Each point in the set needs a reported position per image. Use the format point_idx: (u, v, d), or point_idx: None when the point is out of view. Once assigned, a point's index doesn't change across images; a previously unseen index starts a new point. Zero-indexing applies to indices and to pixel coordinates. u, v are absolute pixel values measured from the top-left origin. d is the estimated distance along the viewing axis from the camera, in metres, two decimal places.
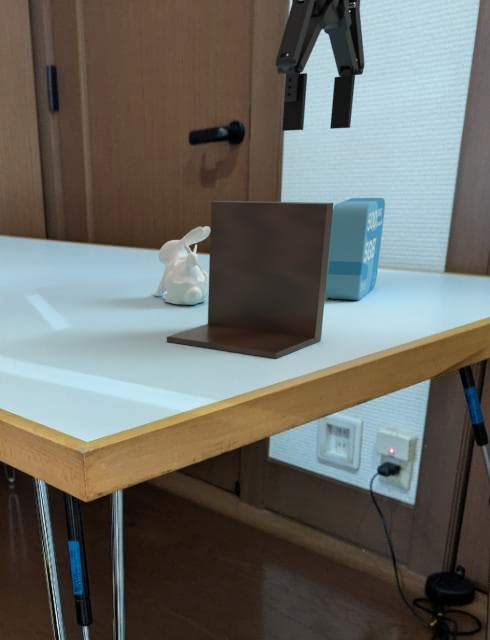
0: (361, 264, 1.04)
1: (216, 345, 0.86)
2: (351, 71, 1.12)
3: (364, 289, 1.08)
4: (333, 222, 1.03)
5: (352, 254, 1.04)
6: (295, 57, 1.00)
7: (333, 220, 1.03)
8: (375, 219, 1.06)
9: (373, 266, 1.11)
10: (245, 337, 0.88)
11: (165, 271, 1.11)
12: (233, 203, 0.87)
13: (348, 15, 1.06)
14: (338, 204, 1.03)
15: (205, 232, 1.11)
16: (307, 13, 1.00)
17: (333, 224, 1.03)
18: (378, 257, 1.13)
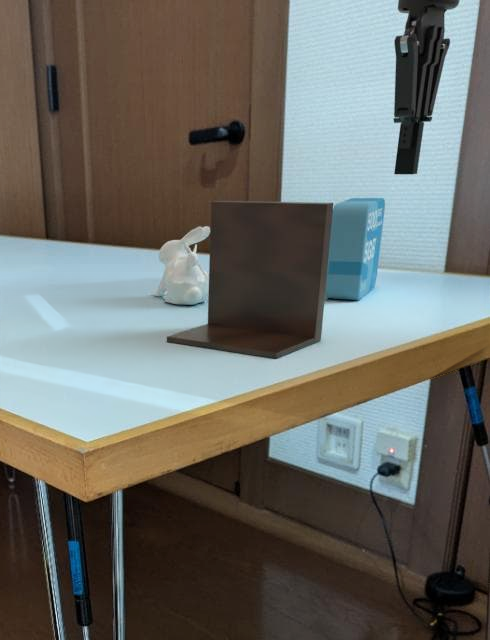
0: (361, 264, 1.04)
1: (216, 345, 0.86)
2: (420, 118, 1.11)
3: (364, 289, 1.08)
4: (333, 222, 1.03)
5: (352, 254, 1.04)
6: (413, 110, 1.08)
7: (333, 220, 1.03)
8: (375, 219, 1.06)
9: (373, 266, 1.11)
10: (245, 337, 0.88)
11: (165, 271, 1.11)
12: (233, 203, 0.87)
13: (438, 50, 1.07)
14: (338, 204, 1.03)
15: (205, 232, 1.11)
16: (414, 66, 1.05)
17: (333, 224, 1.03)
18: (378, 257, 1.13)
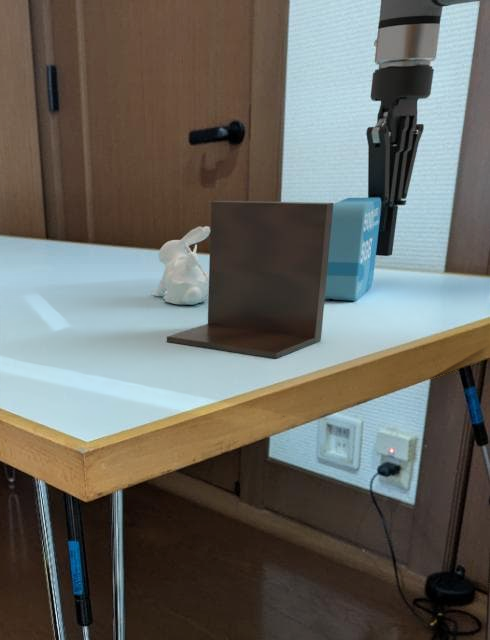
0: (357, 265, 1.03)
1: (216, 345, 0.86)
2: (394, 202, 1.12)
3: (361, 290, 1.08)
4: None
5: (349, 255, 1.03)
6: (386, 196, 1.09)
7: None
8: (371, 219, 1.05)
9: (370, 266, 1.10)
10: (245, 337, 0.88)
11: (165, 271, 1.11)
12: (233, 203, 0.87)
13: (411, 138, 1.09)
14: (334, 205, 1.03)
15: (205, 232, 1.11)
16: (386, 155, 1.06)
17: None
18: None
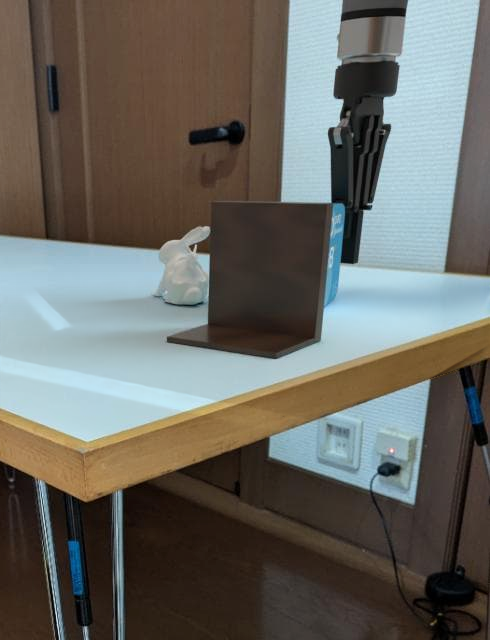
0: None
1: (216, 345, 0.86)
2: (359, 206, 1.06)
3: None
4: None
5: None
6: (350, 201, 1.02)
7: None
8: (332, 227, 0.99)
9: (332, 276, 1.04)
10: (245, 337, 0.88)
11: (165, 271, 1.11)
12: (233, 203, 0.87)
13: (377, 139, 1.02)
14: None
15: (205, 232, 1.11)
16: (349, 158, 0.99)
17: None
18: (339, 266, 1.06)
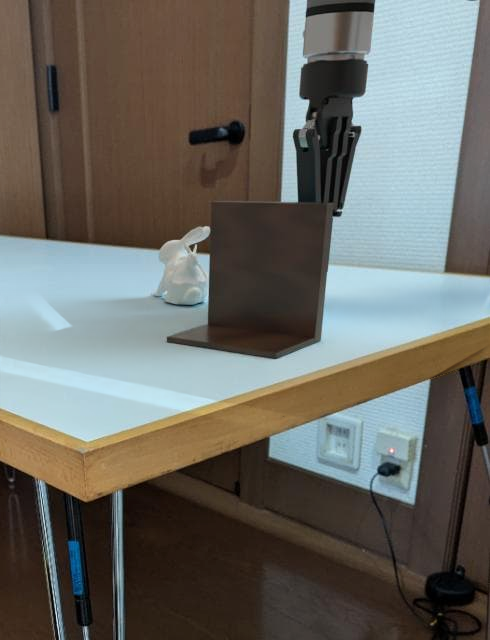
0: None
1: (216, 345, 0.86)
2: None
3: None
4: None
5: None
6: None
7: None
8: None
9: None
10: (245, 337, 0.88)
11: (165, 271, 1.11)
12: (233, 203, 0.87)
13: (346, 141, 0.96)
14: None
15: (205, 232, 1.11)
16: (316, 161, 0.94)
17: None
18: None
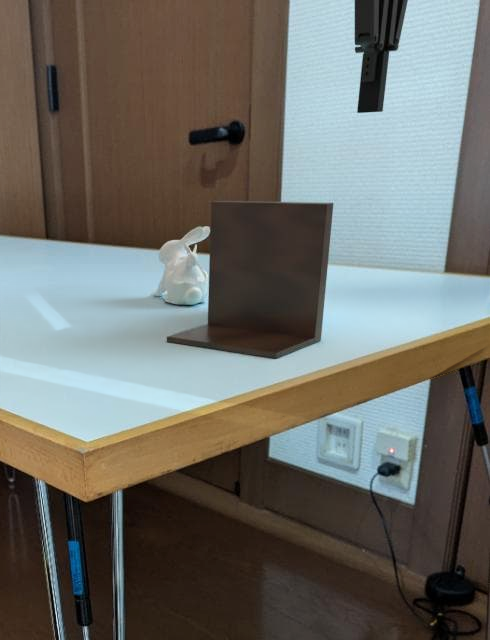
0: None
1: (216, 345, 0.86)
2: (385, 47, 0.98)
3: None
4: None
5: None
6: (375, 35, 0.95)
7: None
8: None
9: None
10: (245, 337, 0.88)
11: (165, 271, 1.11)
12: (233, 203, 0.87)
13: None
14: None
15: (205, 232, 1.11)
16: None
17: None
18: None
